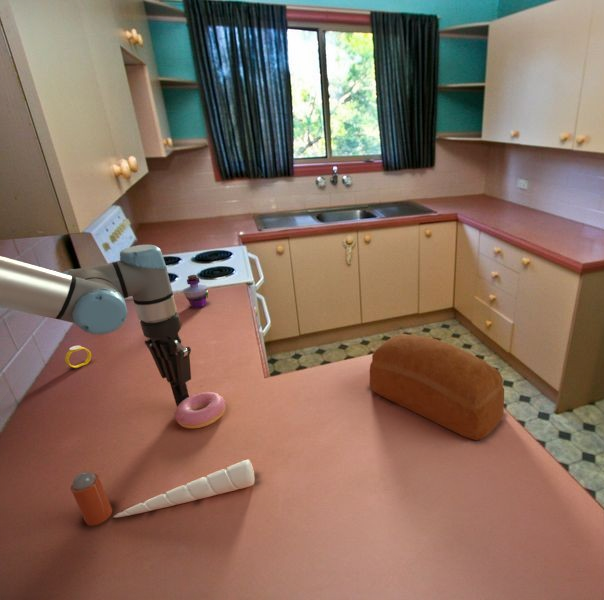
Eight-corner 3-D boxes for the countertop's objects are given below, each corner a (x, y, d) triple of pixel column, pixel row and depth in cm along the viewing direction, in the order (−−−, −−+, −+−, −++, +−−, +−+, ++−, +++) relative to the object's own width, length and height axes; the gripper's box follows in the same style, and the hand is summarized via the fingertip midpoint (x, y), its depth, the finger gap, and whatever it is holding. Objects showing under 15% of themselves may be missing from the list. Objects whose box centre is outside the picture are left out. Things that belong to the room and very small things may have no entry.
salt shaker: (81, 520, 75) (61, 478, 71) (104, 503, 78) (87, 462, 74) (93, 529, 73) (74, 487, 69) (117, 511, 76) (100, 470, 72)
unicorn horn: (120, 502, 78) (112, 482, 76) (255, 472, 84) (251, 453, 82) (112, 523, 74) (103, 503, 72) (255, 490, 80) (250, 471, 78)
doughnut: (227, 425, 97) (223, 410, 95) (174, 437, 94) (169, 422, 92) (227, 397, 106) (224, 384, 105) (179, 408, 103) (175, 394, 101)
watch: (72, 372, 120) (65, 353, 117) (67, 369, 121) (60, 351, 118) (95, 362, 124) (88, 344, 122) (89, 359, 126) (83, 342, 123)
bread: (478, 447, 88) (482, 384, 82) (364, 390, 108) (360, 336, 102) (508, 413, 98) (514, 355, 92) (399, 366, 117) (397, 316, 111)
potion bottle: (215, 304, 160) (209, 275, 156) (192, 312, 155) (185, 281, 150) (204, 299, 166) (198, 270, 161) (182, 306, 160) (175, 276, 155)
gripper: (193, 314, 93) (215, 402, 102) (155, 304, 99) (179, 388, 108) (162, 328, 87) (188, 421, 96) (124, 317, 93) (152, 405, 102)
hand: (183, 404), depth 102 cm, fingers closed
